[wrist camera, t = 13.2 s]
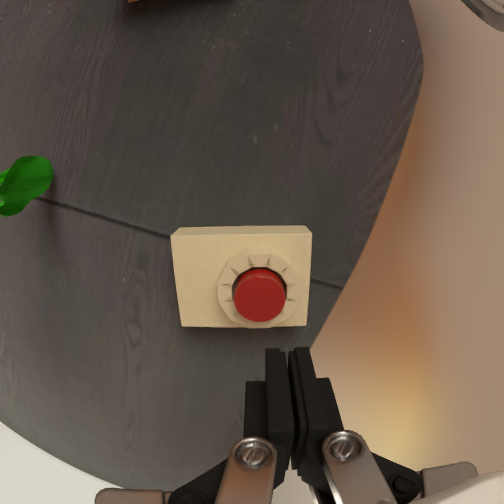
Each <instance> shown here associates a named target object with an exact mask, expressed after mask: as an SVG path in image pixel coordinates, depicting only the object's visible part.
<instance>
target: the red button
mask: <svg viewBox="0 0 504 504" xmlns="http://www.w3.org/2000/svg"><path fill="white" fill-rule="evenodd" d="M234 304H235V307H236V309H237V311H238V312H239V313H240V315H242V316H243V317H244V318H246V319H248V320H250V321H254V322H265V321H269V320H271V319H273V318H275V317H276V316H278V315H279V314H280V312H281V311H282V309H283V308H284V305H285V293H284V288H283V284H282V282H281V280H280V278H279V277H278V276H277V275H276V274H275V273H273V272H271V271H269V270H266V269H253V270H250V271H248V272H246V273H245V274H243V275H242V276H241V277H240V278H239V280H238V282H237V284H236V288H235V295H234Z"/></svg>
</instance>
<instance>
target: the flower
mask: <svg viewBox="0 0 504 504" xmlns="http://www.w3.org/2000/svg"><path fill="white" fill-rule="evenodd" d="M53 178H54V174H53V168H52V165H51V163H50V161H49V160H48V159H45V158H43V157H40V156H27V157H21V158H20V159H18V160H17V161H16V162H15V163H14V164H13V165H12V167H11V168H10V169H8V170H6V171H4V172H2V173H0V183H1V184H2V185H1V186H0V198H1V200H2V202H1V203H0V214H1V215H2V216H3V217H6V216H12V215H16V214H17V213H19V212H21V211H22V210H23V208H24V207H25V206H26V205H27V204H28V203H29V202H30V201H31V200H32V199H34V198H36V197H38V196H39V195H41V194H42V193H43V192H45V191H46V190H47V189H48V187H49V186H50V185H51V183H52V180H53Z"/></svg>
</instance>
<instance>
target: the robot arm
mask: <svg viewBox="0 0 504 504" xmlns="http://www.w3.org/2000/svg"><path fill="white" fill-rule="evenodd" d="M481 1H483V2H484V3H485V4H486V5H487V6H489V7H490V8H492V9H493V10H495V11H496V12H499V13H501V14H504V0H481ZM290 456H291V466H292V470H296V469H297V473H298V476H301V479H302V481H304V482H305V483H307V484H309V489H310V492H311V494H312V498H313V501H314V504H504V472H490V473H486V474H482V475H478V473H477V470H476V467H475V466H474V465H473V464H472V463H469V462H459V463H454V464H450V465H444V466H438V467H433V468H426V469H422V470H421V471H417V472H415V471H413V470H412V469H409V468H406V467H404V466H402V465H399V464H397V463H394V462H392V461H390V460H388V459H385V458H383V457H381V456H378V455H377V454H374V453H372V452H371V451H370V450H369V448H368V446H367V444H366V442H365V440H364V439H363V438H362V436H361V435H359V434H358V433H356V432H353V431H350V430H344V428H343V425H342V420H341V417H340V414H339V410H338V406H337V403H336V399H335V396H334V392H333V389H332V386H331V382H330V379H329V378H316V375H315V371H314V367H313V363H312V359H311V355H310V351H309V347H296V348H294V351H289V355H288V369H287V363H286V356H285V352H280V349H279V348H265V381H246V392H245V415H244V438H243V439H241V440H239V441H237V442H236V443H235V444H234V445H233V446H232V448H231V450H230V453H229V456H228V458H227V459H226V460H224V461H223V462H221V463H220V464H218V465H217V466H215V467H213V468H212V469H210V470H209V471H207V472H205V473H204V474H202V475H201V476H199V477H197V478H196V479H194V480H192V481H190V482H189V483H187V484H185V485H183V486H182V487H180V488H178V489H176V490H175V491H168V492H163V490H140V489H121V488H105V489H102V490H100V491H99V492H98V494H97V495H96V498H95V504H271V501H272V495H273V490H274V489H275V488H276V487H277V486H279V485H280V484H281V483H282V482H284V476H285V471H286V470H288V466H289V461H290Z"/></svg>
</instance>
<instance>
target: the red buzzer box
mask: <svg viewBox="0 0 504 504" xmlns="http://www.w3.org/2000/svg"><path fill="white" fill-rule="evenodd" d="M171 246H172V256H173V265H174V274H175V282H176V290H177V298H178V305H179V312H180V319H181V325H182V326H191V327H247V328H270V327H281V326H306V322H307V310H308V297H309V283H310V267H311V248H312V233H311V232H310V231H309V229H308V228H307V227H306V226H224V227H185V228H179V229H178V230H177V231H176V232H174V233H173V234H172V235H171ZM253 269H266V270H269V271H271V272H273V273H275V274H276V275H277V276H278V277H279V278H280V280H281V282H282V284H283V288H284V293H285V305H284V308H283V309H282V311H281V312H280V314H279V315H278V316H276V317H275V318H273V319H271V320H269V321H265V322H254V321H250V320H248V319H246V318H244V317H243V316H242V315H240V313H239V312H238V311H237V309H236V307H235V304H234V295H235V288H236V284H237V282H238V280H239V278H240V277H241V276H242V275H243V274H245V273H246V272H248V271H250V270H253Z"/></svg>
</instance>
